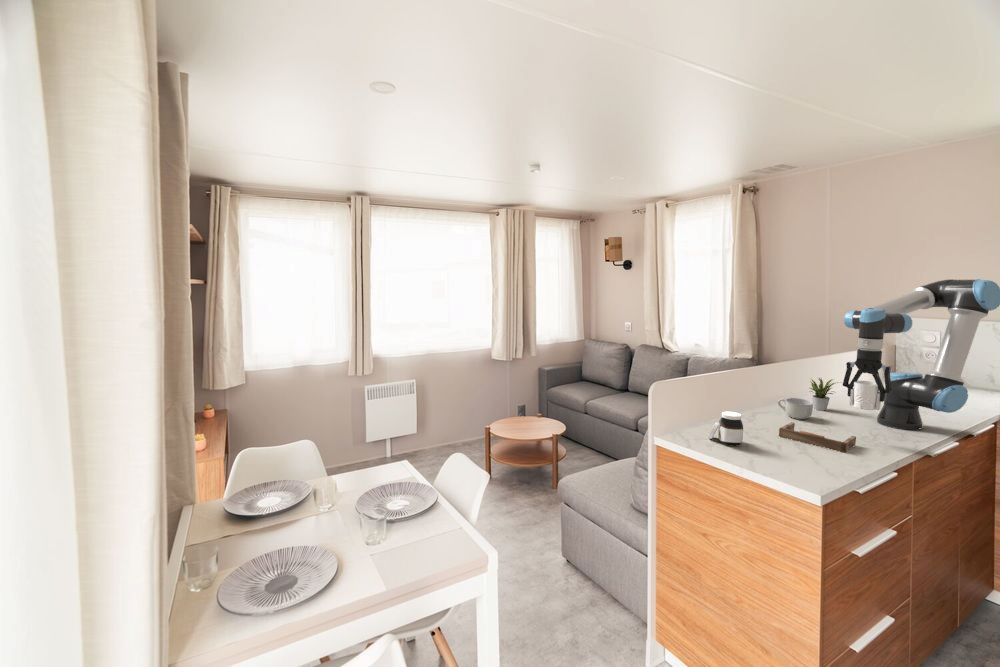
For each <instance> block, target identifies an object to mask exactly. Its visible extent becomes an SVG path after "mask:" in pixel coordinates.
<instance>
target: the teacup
mask: <svg viewBox="0 0 1000 667" xmlns="http://www.w3.org/2000/svg"><path fill="white" fill-rule="evenodd" d="M781 401H782V402H784V405H785V407H784V406H783V405H782V404H781ZM777 405H778V406H779V407H780V408H781V409H782V410H783V411H784V412H785V413H786V415H788V416H789V417H790V418H791V417H792V419H794V418H796V419H795V420H800V419H804V420H807V419H808V418H810V417H811V416H812V413H813V410H814V409H813V400H809V399H805V398H802V397H801V398H800V397H788V398H786V399H785V398H780V399H778V400H777Z"/></svg>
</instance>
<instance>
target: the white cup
mask: <svg viewBox="0 0 1000 667" xmlns="http://www.w3.org/2000/svg"><path fill="white" fill-rule="evenodd" d="M853 388H854V405H853V407H854V408H856V409H859V410H864V411H875V410H876V401H877V393H879V389H878V385H877V384H876V382H875V381H871V380H869V381H868V380H857V382H854V387H853Z"/></svg>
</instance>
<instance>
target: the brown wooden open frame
mask: <svg viewBox="0 0 1000 667" xmlns="http://www.w3.org/2000/svg"><path fill="white" fill-rule="evenodd" d="M779 436H780V438H783V439H787V438H788V440H791V439H792V440H791V441H795V440H796V441H795V442H799V441H800V443H803V442H804V444H807V443H808V445H811V444H812V446H815V445H816V446H815V447H819V446H820V448H823V447H825V448H824V449H827V448H829V450H831V449H832V450H831V451H835V450H836V451H837V452H839V451H840V453H844V454H845V453H847V452H848V451H850V450H851V449H852V448H854V447H855V446H856V441H857V440H856V439H857V436H855V435H851V436H850V437H848V438H847V439H845V440H843V441H841V440H836V439H832V438H828V437H825V435H821V434H817V433H814V432H813V433H812V432H807V431H804V430H799V431H796V430H795V422H792V421H791V422H789V423H787V424H785V425H784V426H781V427H779V430H778V437H779ZM853 446H854V447H853ZM850 448H851V449H850ZM846 451H847V452H846Z"/></svg>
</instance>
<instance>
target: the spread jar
mask: <svg viewBox="0 0 1000 667" xmlns="http://www.w3.org/2000/svg"><path fill="white" fill-rule="evenodd" d="M718 420H719V422H714V424H713V425H712V428H711V430H710V432H709V434H708V437H707V438H709V439H710V440H712V439H713V438H714V436H715V434H716V432H717V429H718V440H719V442H720V444H722V443H723V444H722V445H724V444H726V445H725V446H729V445H732V446H731V447H737V446H736V445H738V446H740V445H742V443H743V440H744V424H743V422H742V414H741V413H739V412H736V411H730V410H729V411H722V412H721V417H720V418H719V419H718Z"/></svg>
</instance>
